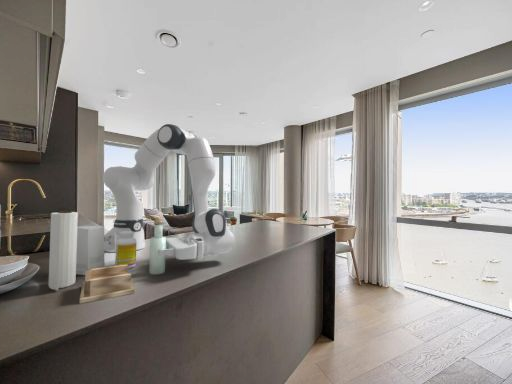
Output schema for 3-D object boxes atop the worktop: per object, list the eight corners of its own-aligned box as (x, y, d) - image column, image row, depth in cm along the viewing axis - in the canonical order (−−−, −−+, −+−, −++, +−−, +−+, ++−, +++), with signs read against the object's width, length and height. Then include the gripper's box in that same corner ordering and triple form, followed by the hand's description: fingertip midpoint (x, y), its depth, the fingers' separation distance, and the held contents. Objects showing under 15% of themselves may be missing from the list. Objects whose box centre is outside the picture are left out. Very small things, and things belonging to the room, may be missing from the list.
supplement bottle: (138, 267, 85) (139, 232, 85) (118, 271, 80) (119, 234, 80) (132, 263, 89) (133, 230, 90) (112, 266, 85) (114, 231, 85)
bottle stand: (129, 278, 73) (130, 263, 73) (134, 293, 64) (134, 274, 64) (82, 286, 67) (83, 269, 67) (79, 303, 57) (80, 283, 57)
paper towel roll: (62, 280, 71) (65, 210, 71) (80, 281, 70) (83, 211, 70) (38, 290, 63) (40, 212, 64) (58, 291, 63) (60, 213, 63)
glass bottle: (146, 272, 79) (147, 220, 79) (157, 268, 84) (159, 219, 84) (156, 275, 77) (158, 222, 77) (167, 271, 82) (169, 220, 82)
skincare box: (104, 270, 80) (106, 225, 80) (86, 276, 74) (87, 228, 74) (86, 267, 83) (88, 224, 83) (67, 273, 76) (68, 226, 76)
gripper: (186, 232, 97) (150, 235, 89) (204, 242, 80) (162, 246, 72) (185, 247, 96) (150, 251, 89) (204, 260, 80) (161, 266, 72)
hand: (155, 249), depth 80 cm, fingers open, 8 cm apart
